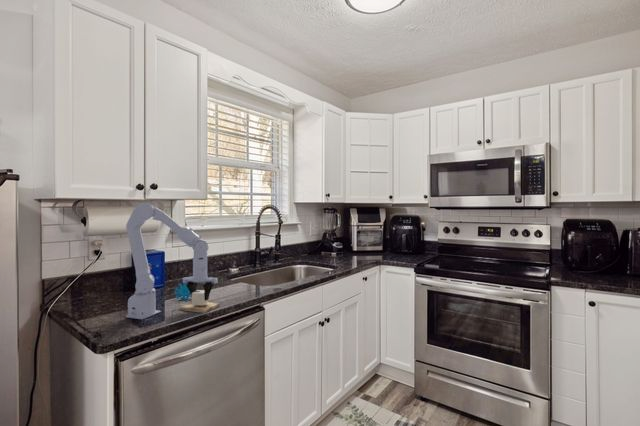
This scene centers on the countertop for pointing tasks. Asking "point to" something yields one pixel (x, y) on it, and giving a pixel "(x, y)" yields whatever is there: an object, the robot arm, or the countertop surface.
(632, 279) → the countertop surface
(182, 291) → the gear
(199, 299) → the white cube
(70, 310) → the countertop surface
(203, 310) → the shaft plate
